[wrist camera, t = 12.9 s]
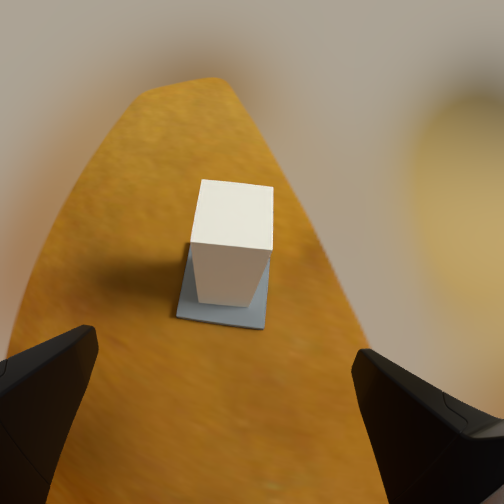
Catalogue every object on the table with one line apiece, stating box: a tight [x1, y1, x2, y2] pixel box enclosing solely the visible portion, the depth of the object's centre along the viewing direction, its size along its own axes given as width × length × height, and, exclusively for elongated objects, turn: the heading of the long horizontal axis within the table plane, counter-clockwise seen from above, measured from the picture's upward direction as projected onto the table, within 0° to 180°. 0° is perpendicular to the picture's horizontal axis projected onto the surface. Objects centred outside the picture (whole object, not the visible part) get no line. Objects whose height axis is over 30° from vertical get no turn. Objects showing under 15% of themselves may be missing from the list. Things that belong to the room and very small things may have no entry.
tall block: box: [190, 179, 273, 308], centre depth 19 cm, size 4×4×10 cm
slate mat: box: [176, 245, 270, 330], centre depth 24 cm, size 7×7×1 cm
